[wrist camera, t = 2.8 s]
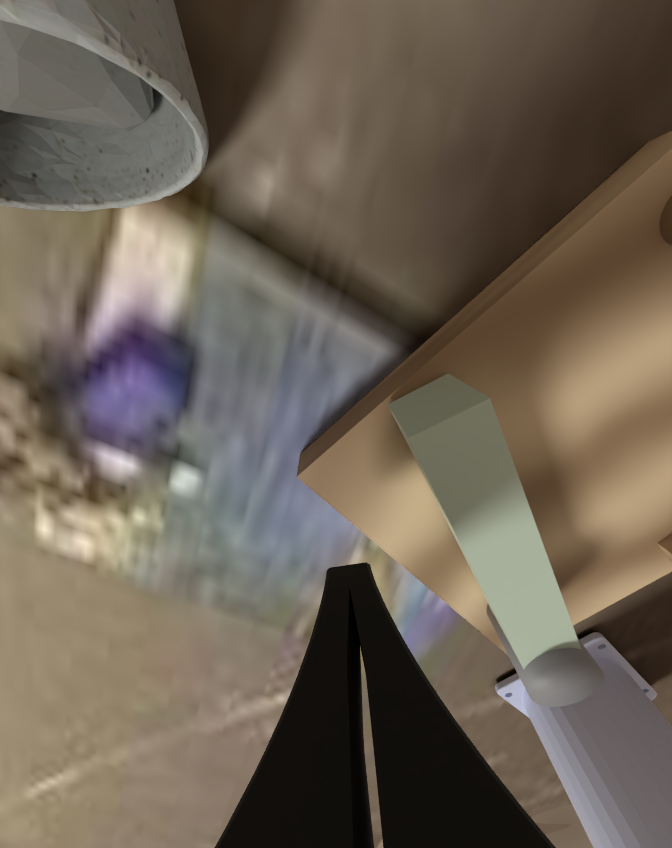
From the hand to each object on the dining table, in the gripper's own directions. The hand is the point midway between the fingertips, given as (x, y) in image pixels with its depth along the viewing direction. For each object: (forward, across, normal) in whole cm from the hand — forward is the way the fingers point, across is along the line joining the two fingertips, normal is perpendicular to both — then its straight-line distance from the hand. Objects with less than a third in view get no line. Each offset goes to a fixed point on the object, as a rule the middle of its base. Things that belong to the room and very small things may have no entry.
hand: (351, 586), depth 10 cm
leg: (+3, -6, +1) cm, 7 cm away
